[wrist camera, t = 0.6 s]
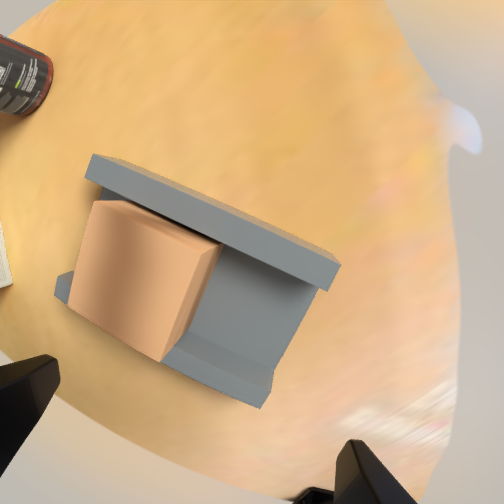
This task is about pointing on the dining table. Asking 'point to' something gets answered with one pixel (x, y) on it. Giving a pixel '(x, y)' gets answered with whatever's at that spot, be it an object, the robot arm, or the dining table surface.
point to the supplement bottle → (22, 77)
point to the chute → (227, 283)
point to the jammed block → (141, 275)
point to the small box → (4, 263)
